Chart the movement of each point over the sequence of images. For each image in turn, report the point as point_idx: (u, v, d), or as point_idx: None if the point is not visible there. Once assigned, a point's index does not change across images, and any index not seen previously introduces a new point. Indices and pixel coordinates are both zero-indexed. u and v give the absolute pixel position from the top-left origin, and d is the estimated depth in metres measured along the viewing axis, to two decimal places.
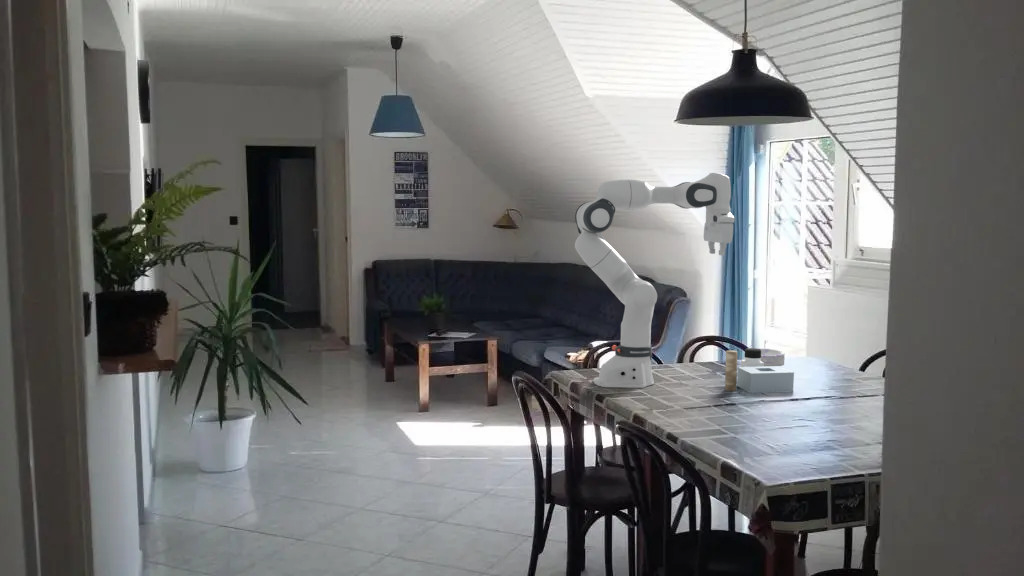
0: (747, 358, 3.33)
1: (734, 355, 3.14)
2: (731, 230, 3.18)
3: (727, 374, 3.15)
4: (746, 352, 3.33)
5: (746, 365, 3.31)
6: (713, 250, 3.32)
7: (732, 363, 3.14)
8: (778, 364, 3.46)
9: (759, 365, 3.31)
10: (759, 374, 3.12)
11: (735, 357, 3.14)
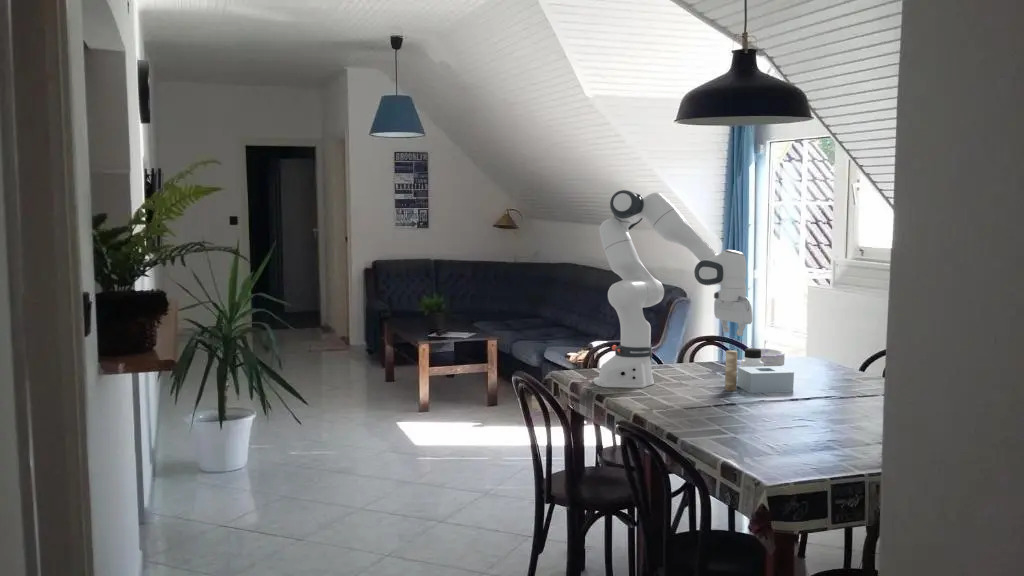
0: (747, 358, 3.33)
1: (734, 355, 3.14)
2: None
3: (727, 374, 3.15)
4: (746, 352, 3.33)
5: (746, 365, 3.31)
6: None
7: (732, 363, 3.14)
8: (778, 364, 3.46)
9: (759, 365, 3.31)
10: (759, 374, 3.12)
11: (735, 357, 3.14)
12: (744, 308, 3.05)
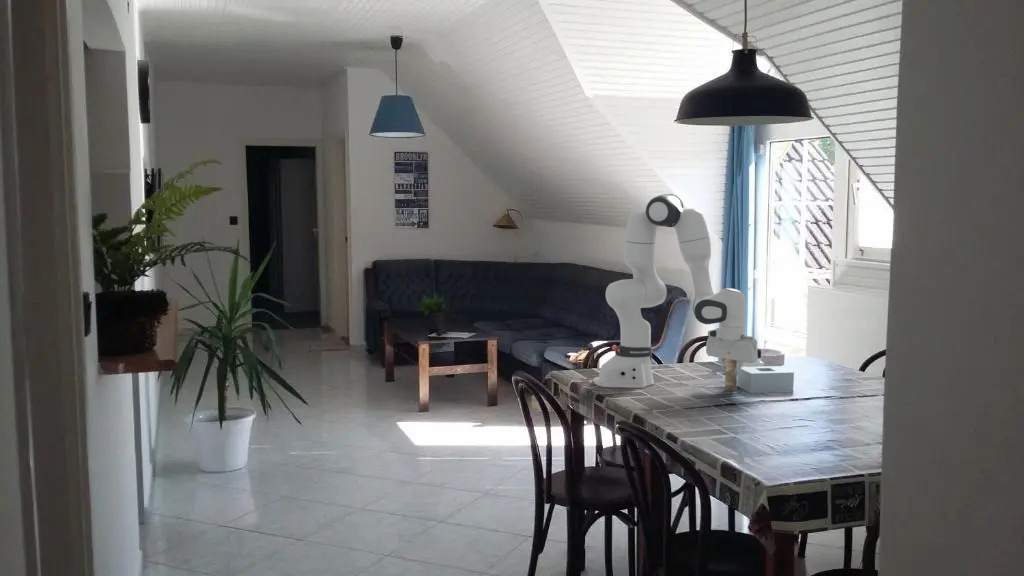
0: None
1: None
2: None
3: (727, 374, 3.15)
4: None
5: (746, 365, 3.31)
6: None
7: (732, 363, 3.14)
8: (778, 364, 3.46)
9: (759, 365, 3.31)
10: (759, 374, 3.12)
11: None
12: (752, 347, 3.07)
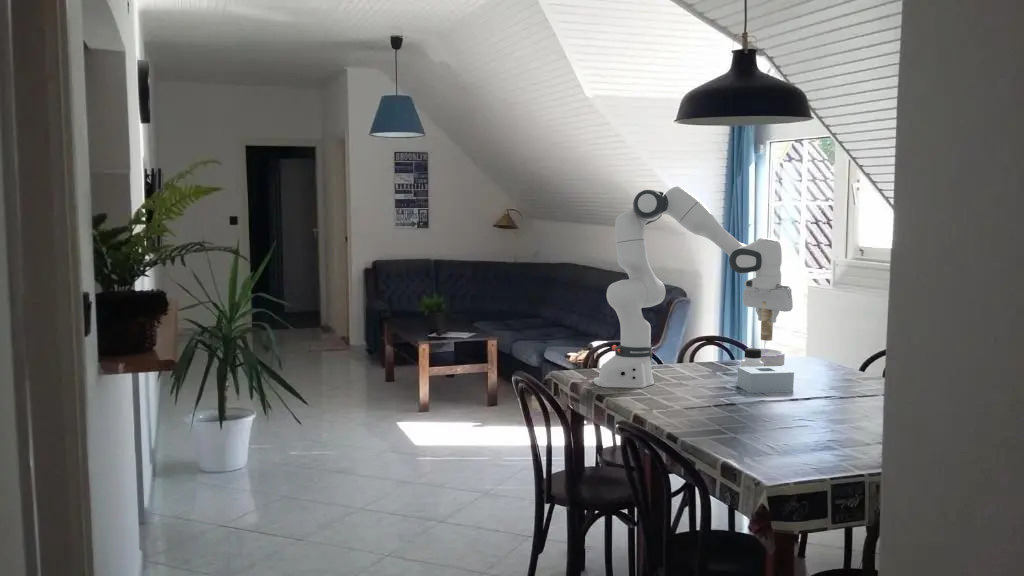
0: (747, 358, 3.33)
1: None
2: None
3: (762, 324, 3.16)
4: (746, 352, 3.33)
5: (746, 365, 3.31)
6: None
7: (767, 312, 3.14)
8: (778, 364, 3.46)
9: (759, 365, 3.31)
10: (759, 374, 3.12)
11: None
12: (786, 296, 3.07)
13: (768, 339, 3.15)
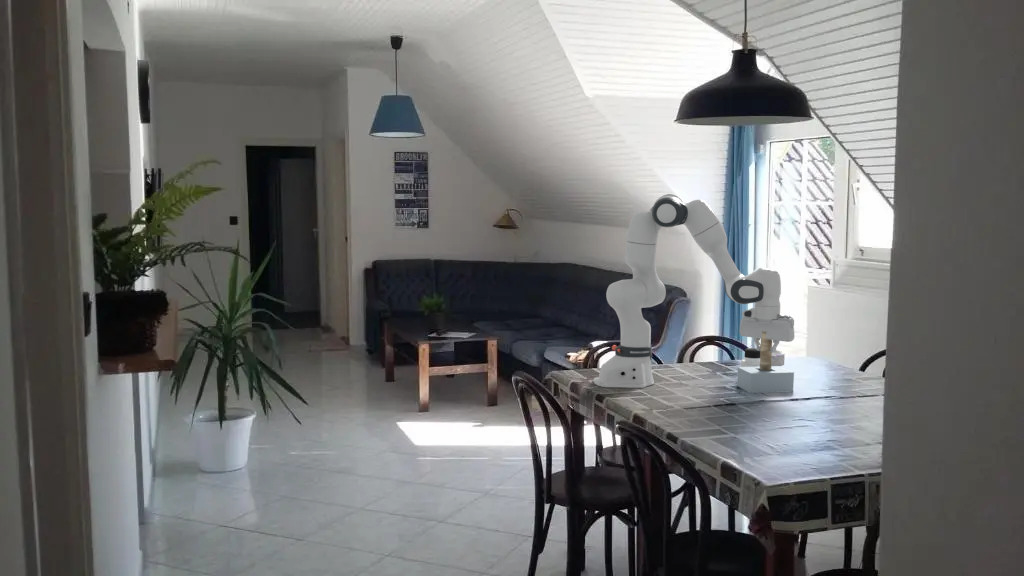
0: (747, 358, 3.33)
1: None
2: None
3: (762, 354, 3.16)
4: (746, 352, 3.33)
5: (746, 365, 3.31)
6: None
7: (767, 342, 3.15)
8: (778, 364, 3.46)
9: (759, 365, 3.31)
10: (759, 374, 3.12)
11: None
12: (789, 326, 3.09)
13: (768, 369, 3.16)
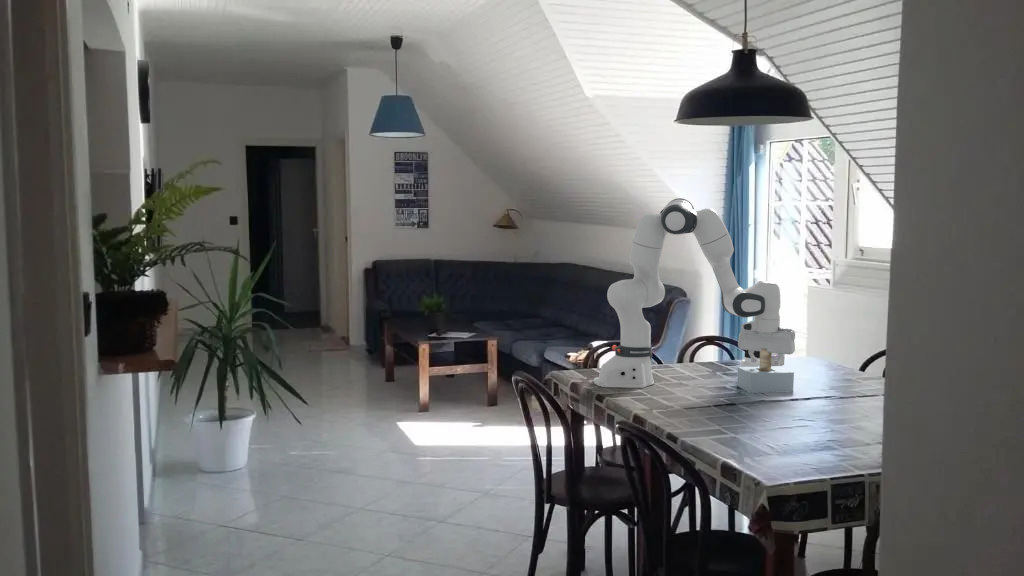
0: (747, 358, 3.33)
1: None
2: None
3: None
4: (746, 352, 3.33)
5: (746, 365, 3.31)
6: None
7: (767, 359, 3.16)
8: None
9: (759, 365, 3.31)
10: (759, 374, 3.12)
11: (770, 353, 3.16)
12: (791, 339, 3.10)
13: None
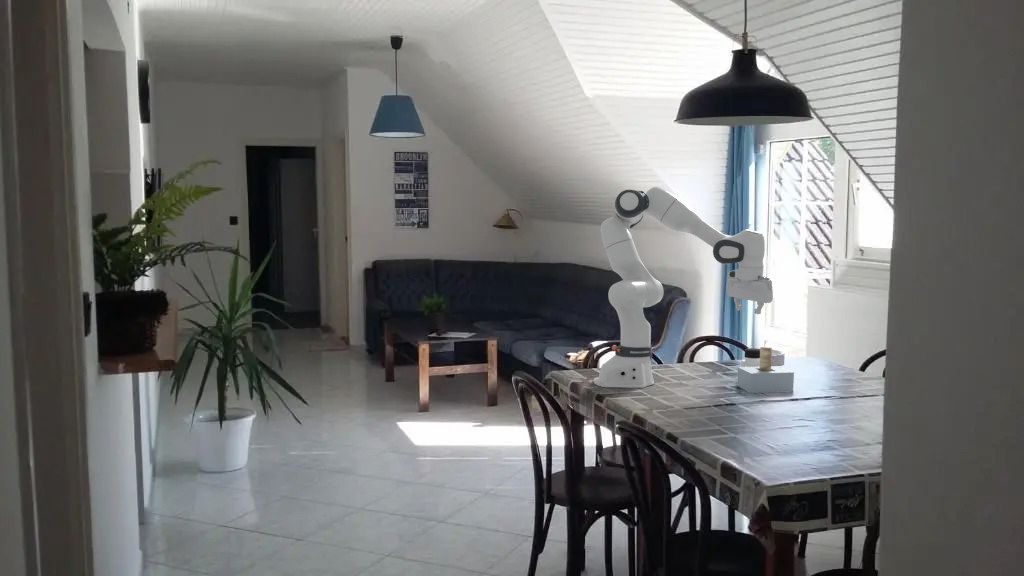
0: (747, 358, 3.33)
1: (769, 351, 3.16)
2: None
3: (762, 370, 3.17)
4: (746, 352, 3.33)
5: (746, 365, 3.31)
6: None
7: (767, 359, 3.16)
8: (778, 364, 3.46)
9: (759, 365, 3.31)
10: (759, 374, 3.12)
11: (770, 353, 3.16)
12: (766, 288, 3.13)
13: None
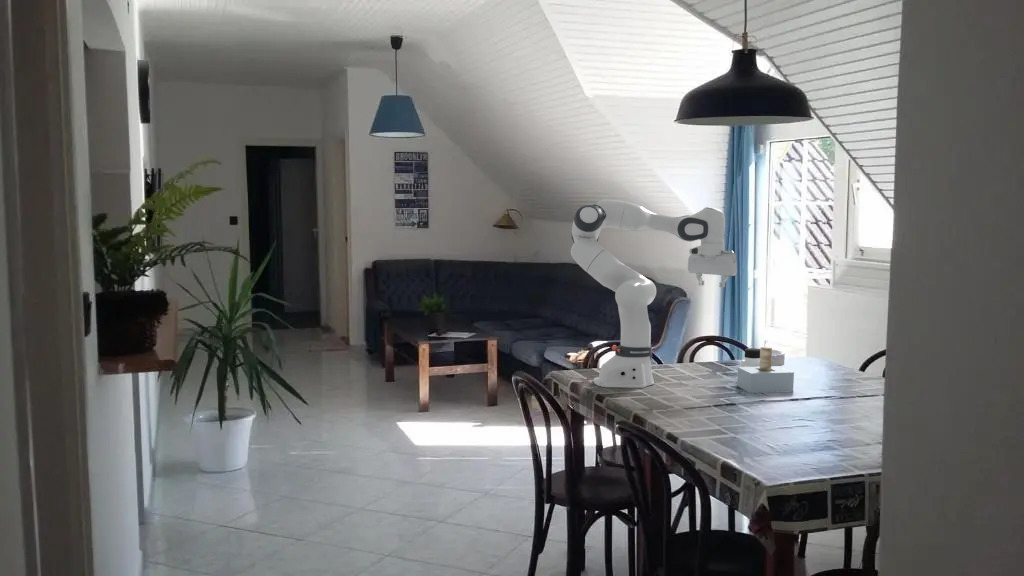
0: (747, 358, 3.33)
1: (769, 351, 3.16)
2: None
3: None
4: (746, 352, 3.33)
5: (746, 365, 3.31)
6: None
7: (767, 359, 3.16)
8: (778, 364, 3.46)
9: (759, 365, 3.31)
10: (759, 374, 3.12)
11: (770, 353, 3.16)
12: (732, 261, 3.29)
13: None
